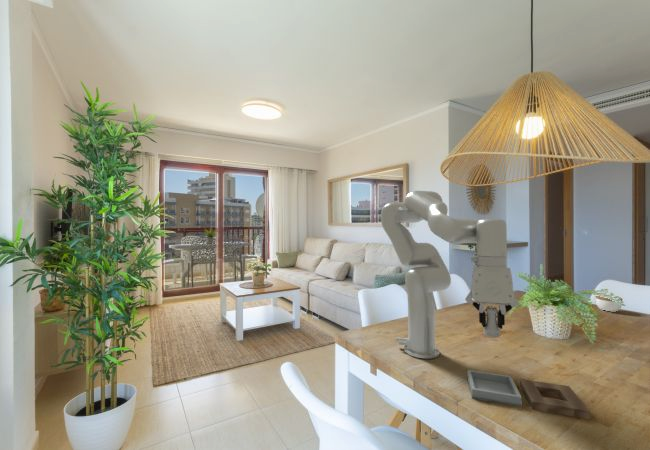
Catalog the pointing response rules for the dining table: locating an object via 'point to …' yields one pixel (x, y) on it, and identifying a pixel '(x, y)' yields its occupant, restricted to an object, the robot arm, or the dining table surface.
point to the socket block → (565, 406)
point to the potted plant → (607, 304)
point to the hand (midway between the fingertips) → (491, 325)
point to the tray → (494, 388)
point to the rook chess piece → (491, 323)
